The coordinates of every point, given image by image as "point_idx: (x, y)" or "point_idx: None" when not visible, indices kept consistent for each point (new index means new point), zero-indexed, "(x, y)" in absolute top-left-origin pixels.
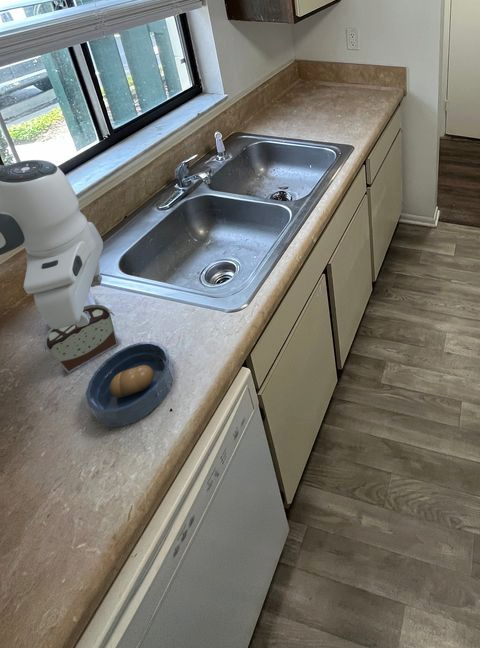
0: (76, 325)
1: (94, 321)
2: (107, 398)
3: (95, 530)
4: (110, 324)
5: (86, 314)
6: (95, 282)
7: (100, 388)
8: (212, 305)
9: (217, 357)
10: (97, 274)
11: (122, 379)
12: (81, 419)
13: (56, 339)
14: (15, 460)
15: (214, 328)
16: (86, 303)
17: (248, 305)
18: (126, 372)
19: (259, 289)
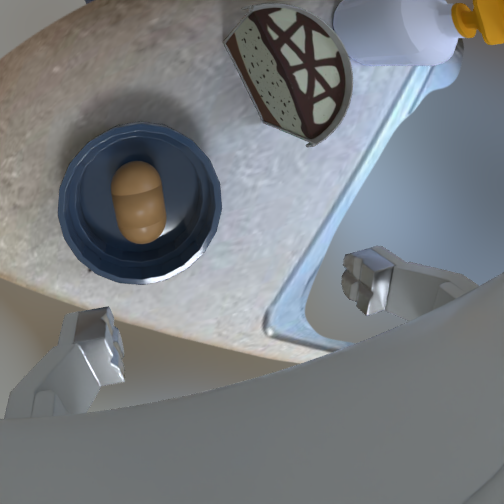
0: (63, 320)
1: (298, 108)
2: (129, 146)
3: None
4: (291, 130)
5: (98, 388)
6: (356, 285)
7: (141, 136)
8: (291, 282)
9: (176, 317)
10: (390, 306)
11: (128, 200)
12: (102, 108)
13: (268, 27)
14: (61, 27)
15: (238, 298)
16: (375, 58)
17: (268, 337)
18: (144, 203)
19: (294, 343)
